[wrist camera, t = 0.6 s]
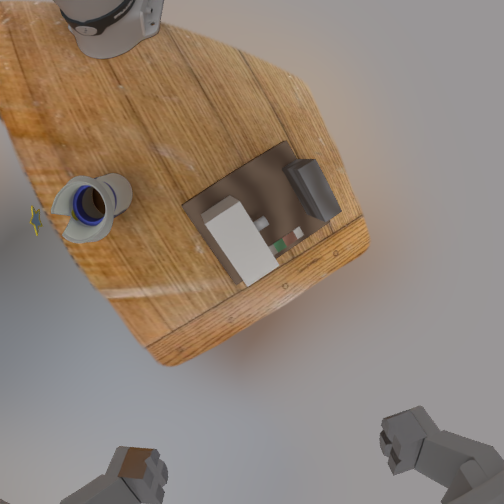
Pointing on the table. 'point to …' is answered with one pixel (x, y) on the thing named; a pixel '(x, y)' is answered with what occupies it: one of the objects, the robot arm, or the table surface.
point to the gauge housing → (240, 239)
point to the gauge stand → (271, 200)
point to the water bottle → (89, 206)
